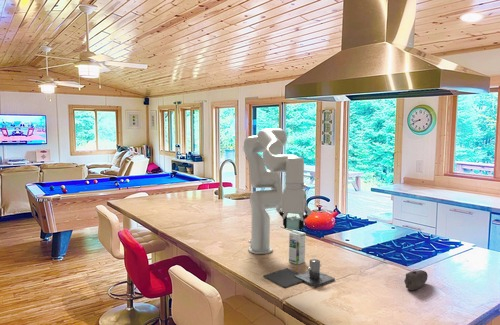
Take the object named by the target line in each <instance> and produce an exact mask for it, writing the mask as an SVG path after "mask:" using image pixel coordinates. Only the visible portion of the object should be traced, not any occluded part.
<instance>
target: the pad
mask: <svg viewBox="0 0 500 325" xmlns="http://www.w3.org/2000/svg"><path fill="white" fill-rule="evenodd" d="M298 274H300V272H296V271H294V270H293V269H290V268H288V267H286V268H283V269H279V270H277V271H273V272H270V273H267V274H263V275H262V277H263V278H265V279H267V280H269V281H271V282H272V283H275V284H276V285H278V286H279V287H282V288H283V289H287V288H290V287H293V286H294V285H298V284H301V283H304V282H303V280H300V279H298V278H296V277H294V276H295V275H298Z"/></svg>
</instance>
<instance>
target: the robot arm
mask: <svg viewBox="0 0 500 325" xmlns="http://www.w3.org/2000/svg"><path fill="white" fill-rule="evenodd" d="M287 136H288V135H287V133H286V131H285V130H284V129H282V128H263V129H261V130H259V131H258V133H257V135H251V136H247V137H246V138H245V139H244V142H243V151H244V155H245V157H246V160H247V163H248V171H249V172H248V173H249V180H250V184H251V186H252V188H254V189H264V190H256V191H253V192H252V193H250V195H249V205H250V212H251V216H250V217H251V231H250V232H251V238H250V240H248V243H249V244H250V246H248V252H250V253H251V254H253V255H254V254H255V255H267V254H270V253H272V252H273V250H274V248H273V247H272V246H271V245H270V238H271V236H270V234H271V232H270V231H271V230H270V229H271V217H270V215H269V213H268V212H267V211H266V210H267V209H275V211H276V212H277V213H278V215H279V216H281V219H282V226H283V228H284V229H287V228H286V218H288V217H287V216H288V214H294V215H298V217H299V218H300V222H299V230H300V231H302V230H303V229H304V227H305V220H306V219H308V217H309V216H310V215H312V214H313V211H312V210H311V209H310V208H309V206H308V202H307V201H308V200H307V193H306V192H307V191H306V189H305V188H307V187H308V184H306V183H304V177H305V176H304V175H305V171H304V170H305V169H304V168H305V160H304V157H301V156H297V155H295V154H281V153H282V152H283V150H284V146H285V144H286V143H287V140H288V137H287ZM259 153H262V155H261V154H259ZM266 168H267V169H266ZM280 173H285V175H284V177H285V178H284V179H285V184H284V186H285V188H283V186H282V179H281V175H280ZM265 188H267V189H265ZM268 188H270V189H268ZM305 212H307V213H305Z"/></svg>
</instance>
